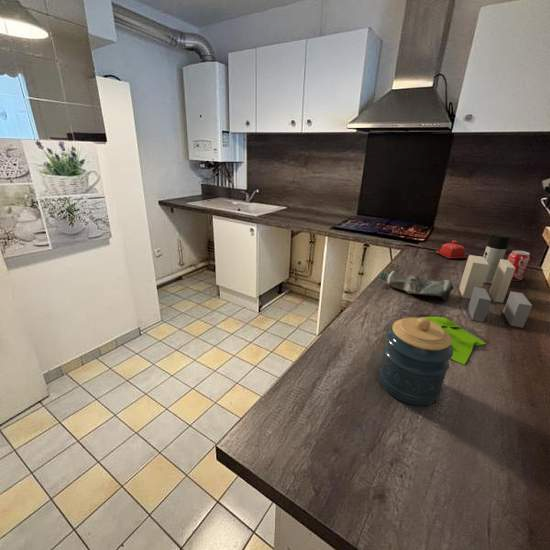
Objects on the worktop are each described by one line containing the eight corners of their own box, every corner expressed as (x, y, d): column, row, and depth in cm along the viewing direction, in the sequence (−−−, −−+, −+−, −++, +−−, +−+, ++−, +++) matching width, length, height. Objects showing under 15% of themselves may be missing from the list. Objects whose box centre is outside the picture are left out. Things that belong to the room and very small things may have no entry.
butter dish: (433, 252, 156) (437, 237, 153) (453, 252, 158) (457, 237, 154) (447, 260, 146) (452, 244, 142) (468, 259, 147) (473, 243, 144)
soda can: (524, 279, 125) (534, 253, 120) (518, 283, 121) (528, 256, 116) (505, 274, 130) (514, 248, 125) (498, 277, 126) (507, 251, 122)
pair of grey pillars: (513, 316, 96) (522, 293, 93) (522, 330, 88) (532, 305, 85) (467, 307, 101) (474, 285, 98) (471, 320, 93) (479, 296, 90)
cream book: (496, 294, 111) (508, 260, 105) (502, 304, 103) (515, 268, 98) (488, 293, 112) (500, 259, 106) (494, 303, 104) (507, 267, 99)
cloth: (445, 315, 95) (447, 309, 95) (507, 358, 76) (510, 351, 75) (389, 321, 91) (391, 315, 90) (440, 368, 72) (442, 361, 71)
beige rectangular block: (473, 290, 114) (483, 256, 108) (477, 300, 106) (489, 264, 101) (459, 288, 115) (468, 254, 110) (462, 297, 108) (473, 262, 102)
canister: (453, 400, 63) (477, 330, 56) (403, 413, 59) (421, 341, 52) (411, 361, 74) (426, 300, 67) (367, 370, 71) (378, 307, 64)
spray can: (483, 276, 127) (498, 232, 119) (498, 283, 121) (515, 236, 113) (472, 278, 125) (486, 233, 117) (487, 285, 119) (503, 237, 111)
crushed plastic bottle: (451, 293, 111) (384, 276, 123) (456, 276, 107) (387, 261, 120) (447, 309, 101) (375, 289, 114) (452, 292, 98) (378, 273, 110)
